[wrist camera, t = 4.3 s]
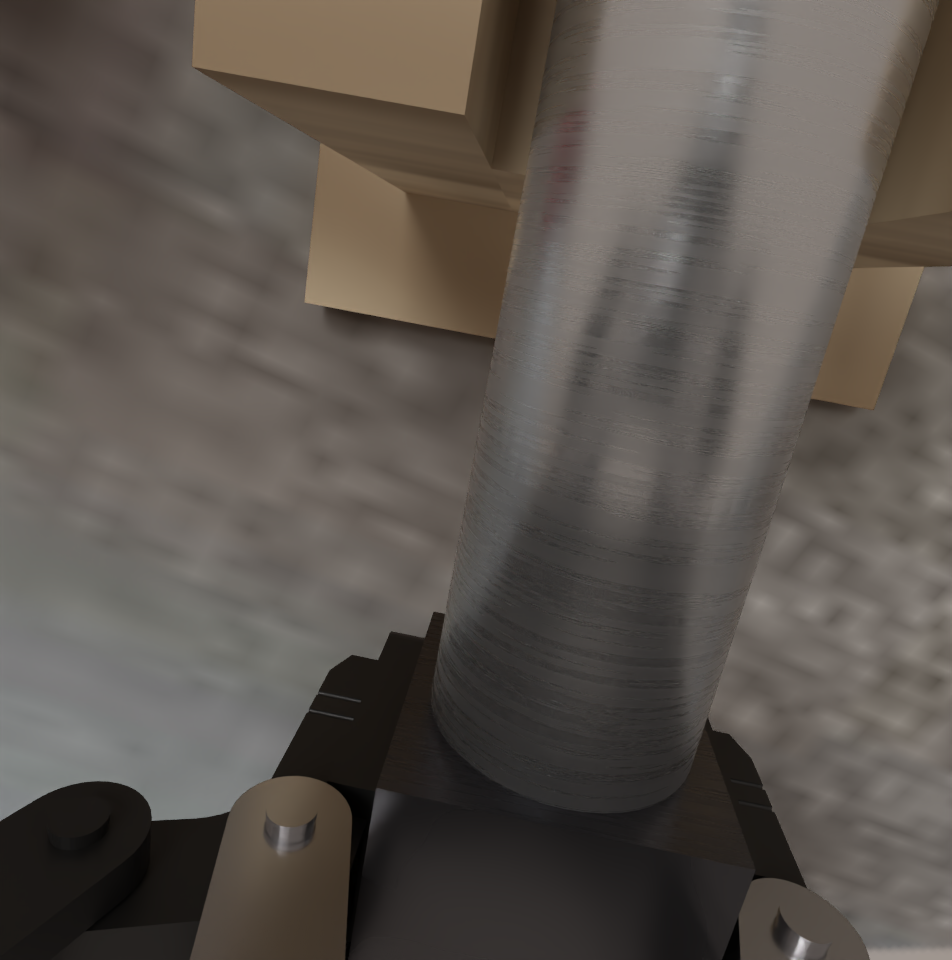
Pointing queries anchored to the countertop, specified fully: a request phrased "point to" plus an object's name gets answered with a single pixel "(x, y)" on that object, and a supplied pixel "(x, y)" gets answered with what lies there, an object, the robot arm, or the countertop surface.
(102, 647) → the countertop surface
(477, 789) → the shaft
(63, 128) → the countertop surface
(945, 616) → the countertop surface
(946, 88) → the block
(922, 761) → the countertop surface
